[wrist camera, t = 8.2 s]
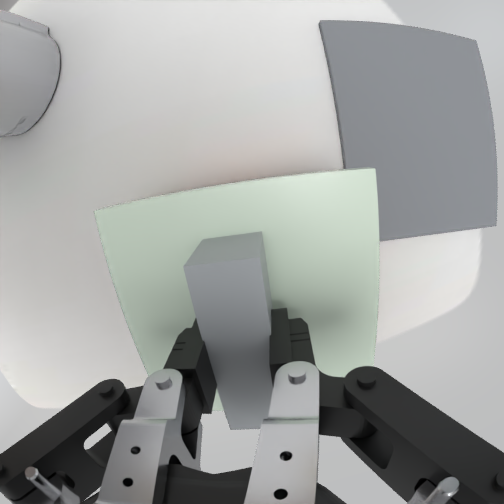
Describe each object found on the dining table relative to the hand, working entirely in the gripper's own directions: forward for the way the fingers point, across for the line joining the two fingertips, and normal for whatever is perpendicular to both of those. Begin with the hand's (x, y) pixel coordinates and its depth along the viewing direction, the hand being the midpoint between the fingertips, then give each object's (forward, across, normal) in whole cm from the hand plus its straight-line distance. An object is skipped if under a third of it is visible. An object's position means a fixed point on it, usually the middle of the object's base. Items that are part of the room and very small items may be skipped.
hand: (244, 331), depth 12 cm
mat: (+8, -13, -8) cm, 17 cm away
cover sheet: (+2, 0, 0) cm, 2 cm away
